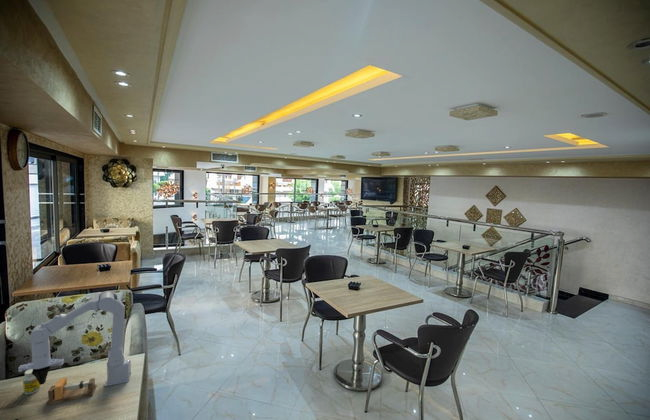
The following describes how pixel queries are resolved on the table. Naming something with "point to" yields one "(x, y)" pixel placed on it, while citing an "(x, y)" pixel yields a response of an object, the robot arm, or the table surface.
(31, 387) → the supplement bottle
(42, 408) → the table surface
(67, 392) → the stand
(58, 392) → the collar
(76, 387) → the rod
